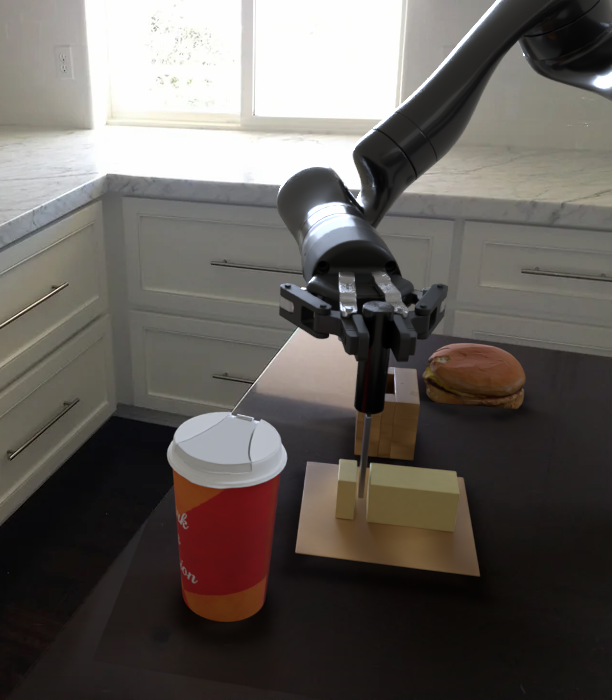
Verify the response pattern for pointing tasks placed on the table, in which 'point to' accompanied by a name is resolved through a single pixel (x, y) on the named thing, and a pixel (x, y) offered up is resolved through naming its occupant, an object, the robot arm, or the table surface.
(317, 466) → the board
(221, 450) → the paper cup
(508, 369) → the burger
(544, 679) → the table surface
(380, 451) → the knife block
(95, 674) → the table surface
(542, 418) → the table surface
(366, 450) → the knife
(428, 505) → the butter
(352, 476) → the butter pat
